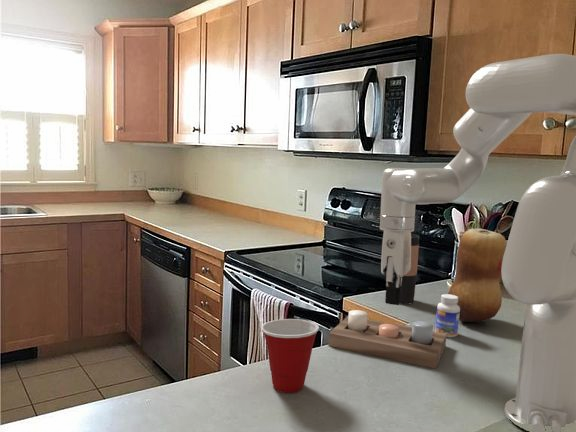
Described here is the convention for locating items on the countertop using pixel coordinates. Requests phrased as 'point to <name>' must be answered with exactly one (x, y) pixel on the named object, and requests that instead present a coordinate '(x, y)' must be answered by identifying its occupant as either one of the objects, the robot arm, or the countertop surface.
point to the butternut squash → (478, 275)
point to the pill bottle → (448, 315)
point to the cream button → (357, 321)
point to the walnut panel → (389, 343)
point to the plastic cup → (289, 351)
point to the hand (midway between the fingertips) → (393, 303)
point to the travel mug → (410, 273)
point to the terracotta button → (388, 330)
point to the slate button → (422, 333)
